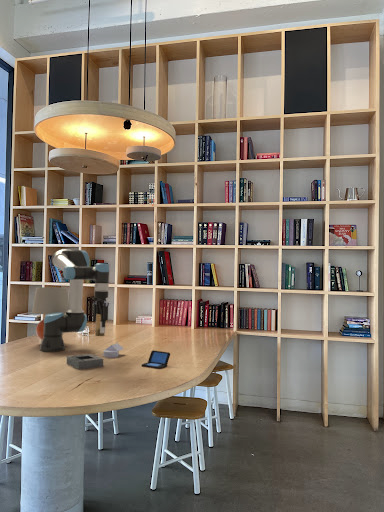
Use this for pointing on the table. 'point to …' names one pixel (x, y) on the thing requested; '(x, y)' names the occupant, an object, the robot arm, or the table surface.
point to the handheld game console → (157, 360)
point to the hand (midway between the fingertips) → (100, 332)
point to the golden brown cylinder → (98, 325)
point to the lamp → (49, 304)
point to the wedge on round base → (112, 351)
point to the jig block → (84, 361)
